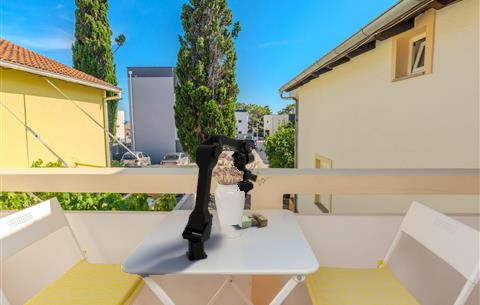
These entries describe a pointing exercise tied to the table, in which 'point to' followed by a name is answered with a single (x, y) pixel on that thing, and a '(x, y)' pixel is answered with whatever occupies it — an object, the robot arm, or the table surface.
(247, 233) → the table surface
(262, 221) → the hinge base
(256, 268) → the table surface
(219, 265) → the table surface
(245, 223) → the hinge leaf
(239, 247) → the table surface
